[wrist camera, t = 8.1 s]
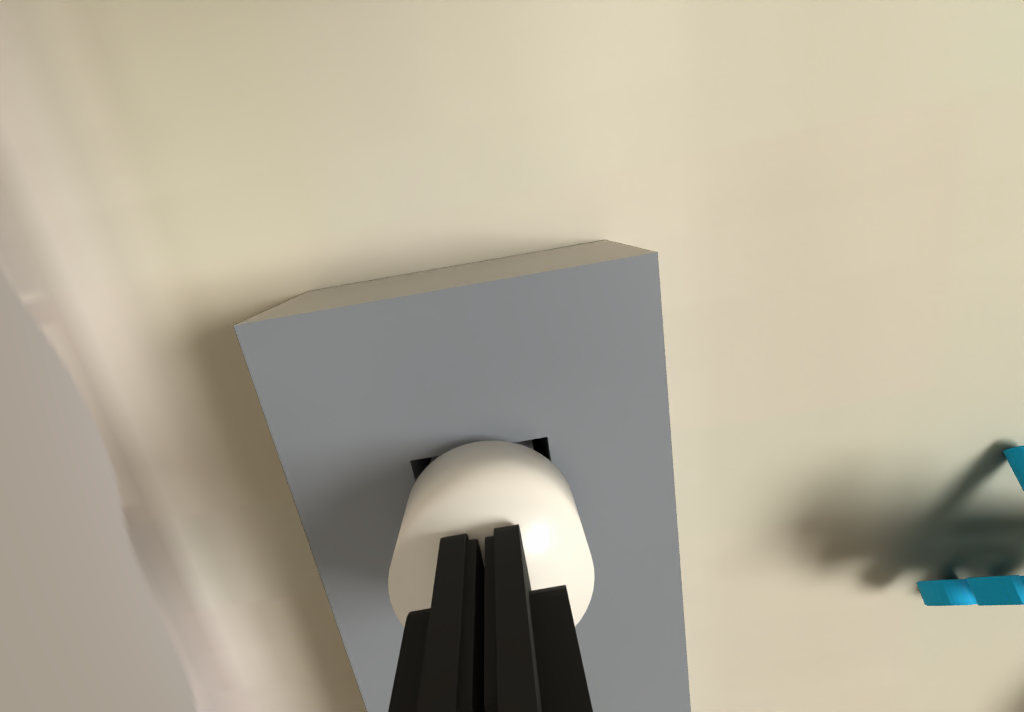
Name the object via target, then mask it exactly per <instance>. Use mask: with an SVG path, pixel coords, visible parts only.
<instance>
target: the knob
mask: <svg viewBox="0 0 1024 712" xmlns="http://www.w3.org/2000/svg"><path fill="white" fill-rule="evenodd" d="M517 524H519V527H520V532H521V537H522V542H523V548H524V553H525V558H526V563H527V569H528V574H529V579H530V585H531V590H538V589H543V588H549V587H555V586H561V585H566V588H567V592H568V597H569V602H570V606H571V611H572V616H573V620H574V625H575V626H576V625H577V624H578V623H579V621H580V620H581V618H582V617H583V615H584V613H585V612H586V610H587V608H588V605H589V603H590V600H591V597H592V593H593V589H594V579H595V578H594V566H593V561H592V557H591V553H590V550H589V547H588V544H587V540H586V537H585V534H584V531H583V527H582V524H581V521H580V518H579V514H578V511H577V508H576V505H575V501H574V498H573V495H572V492H571V489H570V487H569V484H568V482H567V481H566V479H565V477H564V475H563V474H562V473H561V472H560V470H559V469H558V468H557V467H556V466H555V465H554V464H553V463H552V462H551V461H550V460H549V459H547V458H546V457H545V456H543V455H542V454H540V453H538V452H536V451H535V450H534V448H533V443H532V440H526V441H521V442H515V443H512V442H505V441H479V442H473V443H469V444H465V445H462V446H459V447H456V448H454V449H452V450H450V451H448V452H446V453H444V454H442V455H440V456H434V457H432V458H431V463H430V464H429V465H428V466H427V467H426V468H425V469H424V471H423V472H422V473H421V474H420V475H419V477H418V478H417V480H416V482H415V483H414V485H413V487H412V489H411V492H410V494H409V498H408V502H407V505H406V509H405V513H404V517H403V520H402V524H401V528H400V532H399V535H398V539H397V543H396V547H395V550H394V554H393V558H392V562H391V565H390V569H389V577H388V590H389V596H390V601H391V604H392V607H393V610H394V612H395V614H396V616H397V618H398V620H399V621H400V623H401V624H402V626H403V627H405V622H406V618H407V615H408V614H409V612H411V611H417V610H423V609H428V608H431V601H432V594H433V587H434V580H435V572H436V565H437V558H438V551H439V543H440V539H441V538H442V537H447V536H453V535H459V534H465V533H467V535H468V537H469V540H472V539H478V542H479V546H480V550H481V555H482V559H483V564H484V565H485V537H489V536H494V528H499V527H505V526H511V525H517Z"/></svg>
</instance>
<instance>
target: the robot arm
mask: <svg viewBox="0 0 1024 712" xmlns="http://www.w3.org/2000/svg"><path fill="white" fill-rule="evenodd" d="M388 712H593V709H592V704H591V700H590V695H589V690H588V686H587V681H586V676H585V672H584V667H583V662H582V658H581V653H580V648H579V644H578V639H577V634H576V630H575V625H574V620H573V616H572V611H571V606H570V602H569V597H568V592H567V588H566V585H561V586H555V587H549V588H543V589H538V590H531V585H530V579H529V574H528V569H527V563H526V558H525V553H524V548H523V542H522V537H521V532H520V527H519V524H517V525H511V526H505V527H499V528H494V536H489V537H485V565H484V564H483V559H482V555H481V550H480V546H479V542H478V539H472V540H469V537H468V535H467V533H465V534H459V535H453V536H447V537H442V538H441V539H440V543H439V551H438V558H437V565H436V572H435V580H434V587H433V594H432V601H431V608H428V609H423V610H417V611H411V612H409V614H408V615H407V618H406V622H405V627H404V632H403V637H402V642H401V648H400V653H399V658H398V663H397V668H396V673H395V679H394V684H393V689H392V694H391V699H390V704H389V709H388Z"/></svg>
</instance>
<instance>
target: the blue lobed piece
mask: <svg viewBox="0 0 1024 712" xmlns="http://www.w3.org/2000/svg"><path fill="white" fill-rule="evenodd" d="M1003 453H1004V455H1005V457H1006V458H1007V460H1008V462H1009V464H1010V466H1011V468H1012V470H1013V472H1014V474H1015V476H1016V477H1017V479H1018V481H1019V483H1020V485H1021V487H1022V489H1023V491H1024V446H1018V447H1013V448H1010V449H1006V450H1004V451H1003ZM917 585H918V588H919V591H920V593H921V596H922V598H923V601H924V603H925V605H927V606H945V605H972V604H978V605H1021V604H1024V576H1019V575H1009V576H991V577H974V578H967V579H951V580H933V581H919V582H917Z"/></svg>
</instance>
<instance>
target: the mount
mask: <svg viewBox="0 0 1024 712" xmlns="http://www.w3.org/2000/svg"><path fill="white" fill-rule="evenodd" d="M233 326H234V329H235V332H236V335H237V337H238V340H239V343H240V346H241V349H242V352H243V355H244V358H245V361H246V363H247V366H248V369H249V372H250V375H251V378H252V381H253V384H254V387H255V389H256V392H257V395H258V398H259V401H260V404H261V407H262V410H263V412H264V415H265V418H266V421H267V424H268V427H269V430H270V433H271V436H272V438H273V441H274V444H275V447H276V450H277V453H278V456H279V459H280V462H281V464H282V467H283V470H284V473H285V476H286V479H287V482H288V485H289V487H290V490H291V493H292V496H293V499H294V502H295V505H296V508H297V511H298V513H299V516H300V519H301V522H302V525H303V528H304V531H305V534H306V537H307V539H308V542H309V545H310V548H311V551H312V554H313V557H314V560H315V563H316V565H317V568H318V571H319V574H320V577H321V580H322V583H323V586H324V588H325V591H326V594H327V597H328V600H329V603H330V606H331V609H332V612H333V614H334V617H335V620H336V623H337V626H338V629H339V632H340V635H341V638H342V640H343V643H344V646H345V649H346V652H347V655H348V658H349V661H350V663H351V666H352V669H353V672H354V675H355V678H356V681H357V684H358V687H359V689H360V692H361V695H362V698H363V701H364V704H365V707H366V710H367V712H388V709H389V704H390V699H391V694H392V689H393V684H394V679H395V673H396V668H397V663H398V658H399V653H400V648H401V642H402V637H403V632H404V627H403V626H402V624H401V623H400V621H399V620H398V618H397V616H396V614H395V612H394V610H393V607H392V604H391V601H390V596H389V590H388V577H389V569H390V565H391V562H392V558H393V554H394V550H395V547H396V543H397V539H398V535H399V532H400V528H401V524H402V520H403V517H404V513H405V509H406V505H407V502H408V498H409V494H410V492H411V489H412V487H413V485H414V483H415V482H416V480H417V478H418V477H419V475H420V474H421V473H422V472H423V471H424V469H425V468H426V467H427V466H428V465H429V464H430V463H431V458H432V457H434V456H440V455H442V454H444V453H446V452H448V451H450V450H452V449H454V448H456V447H459V446H462V445H465V444H469V443H473V442H479V441H505V442H512V443H515V442H521V441H526V440H532V439H538V438H541V444H542V450H543V456H545V457H546V458H547V459H549V460H550V461H551V462H552V463H553V464H554V465H555V466H556V467H557V468H558V469H559V470H560V472H561V473H562V474H563V475H564V477H565V479H566V481H567V482H568V484H569V487H570V489H571V492H572V495H573V498H574V501H575V505H576V508H577V511H578V514H579V518H580V521H581V524H582V527H583V531H584V534H585V537H586V540H587V544H588V547H589V550H590V553H591V557H592V561H593V566H594V578H595V579H594V589H593V593H592V597H591V600H590V603H589V605H588V608H587V610H586V612H585V613H584V615H583V617H582V618H581V620H580V621H579V623H578V624H577V625H576V626H575V630H576V634H577V639H578V644H579V648H580V653H581V658H582V662H583V667H584V672H585V676H586V681H587V686H588V690H589V695H590V700H591V704H592V709H593V712H691V707H690V694H689V680H688V666H687V652H686V638H685V624H684V611H683V597H682V583H681V569H680V555H679V541H678V528H677V514H676V500H675V486H674V472H673V458H672V445H671V431H670V417H669V403H668V389H667V375H666V362H665V348H664V334H663V320H662V306H661V292H660V279H659V265H658V252H654V251H650V250H646V249H642V248H638V247H634V246H630V245H625V244H621V243H617V242H613V241H609V240H602V241H596V242H590V243H584V244H579V245H573V246H567V247H561V248H555V249H550V250H544V251H538V252H532V253H526V254H521V255H515V256H509V257H503V258H497V259H492V260H486V261H480V262H474V263H468V264H463V265H457V266H451V267H445V268H439V269H434V270H428V271H422V272H416V273H410V274H405V275H399V276H393V277H387V278H381V279H376V280H370V281H364V282H358V283H352V284H347V285H341V286H335V287H329V288H323V289H318V290H312V291H308V292H306V293H303V294H301V295H299V296H297V297H295V298H292V299H290V300H288V301H286V302H284V303H282V304H279V305H277V306H275V307H273V308H271V309H268V310H266V311H264V312H262V313H260V314H257V315H255V316H253V317H251V318H249V319H246V320H244V321H242V322H240V323H238V324H235V325H233Z"/></svg>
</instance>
